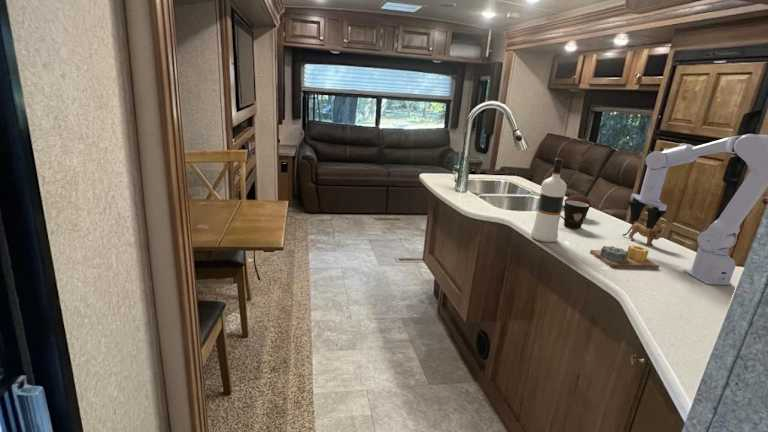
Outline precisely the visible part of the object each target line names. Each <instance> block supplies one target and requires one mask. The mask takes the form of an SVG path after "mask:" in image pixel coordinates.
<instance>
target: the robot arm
mask: <svg viewBox="0 0 768 432" xmlns="http://www.w3.org/2000/svg"><path fill="white" fill-rule="evenodd" d="M721 152H729V153H735V154H736V155H737V156H738V157H739V158H741V159H742V160H743V161H744V162H745V163H746V165H747V167H748V169H749V173H748V174H747V176H746V178H744V180H743V182H742V183H741V185H740V186H739V187H738V189H737V191H736V192H735V193H734V195H733V196H732V198H731V199H730V201H729V202H728V203H727V205H726V206H725V207H724V210H723V211H722V212H721V214H720V216H719V217H718V218H717V219H716V220H715V221H713V222H712V223H711V224H710V225H709V226H708V227H707V229H706V230H703V231H701V232H700V233H699V234H698V235H697V238H696V239H697V240H696V241H697V244H698V248H697V251H696V254H695V257H694V260H693V263H692V265H691V266H692V267H691V269H683V272H685V273H686V274H688V275H690V276H692V277H693V278H696V279H697V280H699V281H701V282H703V283H704V284H706V285H716V286H717V285H721V286H722V285H725V286H731V285H732V282H731V279H732V277H733V274H734V271H735V270H736V269H735V268H736V262H735V260H734V259H733V258H731V257H730V256H729V254H730V250H729V249H730V248H732V247H733V246H735V244H736V243H737V237H738V234H739V233H740V230H741V229H740V225H741V224H742V223H743V222H744V220H745V219H746V217H747V216H748V215H749V213H750V212H751V210H752V209H753V207H755V204H756V203H757V202H758V201H759V199H760V198H761V197H762V195H763V194H764V192H765V191H766V190H767V188H768V134H766V133H765V134H764V133H763V134H754V133H747V134H743V135H735V136H729V137H725V138H722V139H718V140H714V141H711V142H708V143H707V142H706V143H703V144H700V145H696V146H695V145H692V144H690V143H680V144H679V146H676V147H672V148H668V147H667V148H663V150H662V151H659V150H655V151H651V152H650V153H648V154H647V156H646V158H645V164H646V166H647V167H646V171H645V175H644V178H643V182H642V185H641V190H640V193H639V194H638V193H631V195H630V200H628V206H629V208H630V219H631V220H630V221H631V222H639V220H640V216H641V215H642V211H643V210H644V208H645V206H650V207H647V208H646V210H647V219H646V224H645V227H646V228H650V229H653V228H654V226H656V225H657V223H658V221H659V220H660V219H661V218H662V217H663V216H664V215H665V214H666V213H667V207H668V204H666V203H663V202H662V201H661V199H660V198H661V197H660V196H661V194H662V190H663V186H664V183H665V179H666V175H667V173H668V170H669V169H670V168H671V167H675V166H680V165H684V164H688V163H694V162H695V161H696V159H697V158H698V157H700V156H703V157H704V156H706V155H711V154H717V153H721Z"/></svg>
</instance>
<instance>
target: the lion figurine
mask: <svg viewBox="0 0 768 432" xmlns="http://www.w3.org/2000/svg"><path fill="white" fill-rule="evenodd" d="M668 229H669V227H668V225H666V224H664V223H662V224H661V223H660V224H655V226H654V228H653V229H650V228H646V226H644V225H643V224H641V223H639V222H637V223H636V222H635V223H633V224H632V225H631V226H630V228H629V229H628V231H627V232H626V233H622V236H624V237H625V236H628V238H630V241H632V242H634V241H635V239H634V235H636V234H637V233H639V235H640V236H642V237H644V238H647V240H646V246H647V247H648V248H650V247H652V246H654V244H653V243H652V242H653V241H654V240H655V241H657V240H660V239H661V238H665V237H666V236H667V235H668V232H669V231H668ZM628 234H629V235H628Z"/></svg>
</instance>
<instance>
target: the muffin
mask: <svg viewBox="0 0 768 432" xmlns="http://www.w3.org/2000/svg"><path fill="white" fill-rule="evenodd" d="M566 201H578V202H582V203H586V204H588V205H589V206H588V209H587V212H586V215H585V217H584V220H586V218H587V214H588V212H589V210H590V208H591V207H592V203H591V201H590V199H589V198H588V197H587V196H585V195H583V194H576V193H575V194H572V195H569V196H567V197H566V198H564V200H563V203H564V206H566ZM563 209H564V208H563ZM563 214H564V217H565V209H564V211H563Z"/></svg>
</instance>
